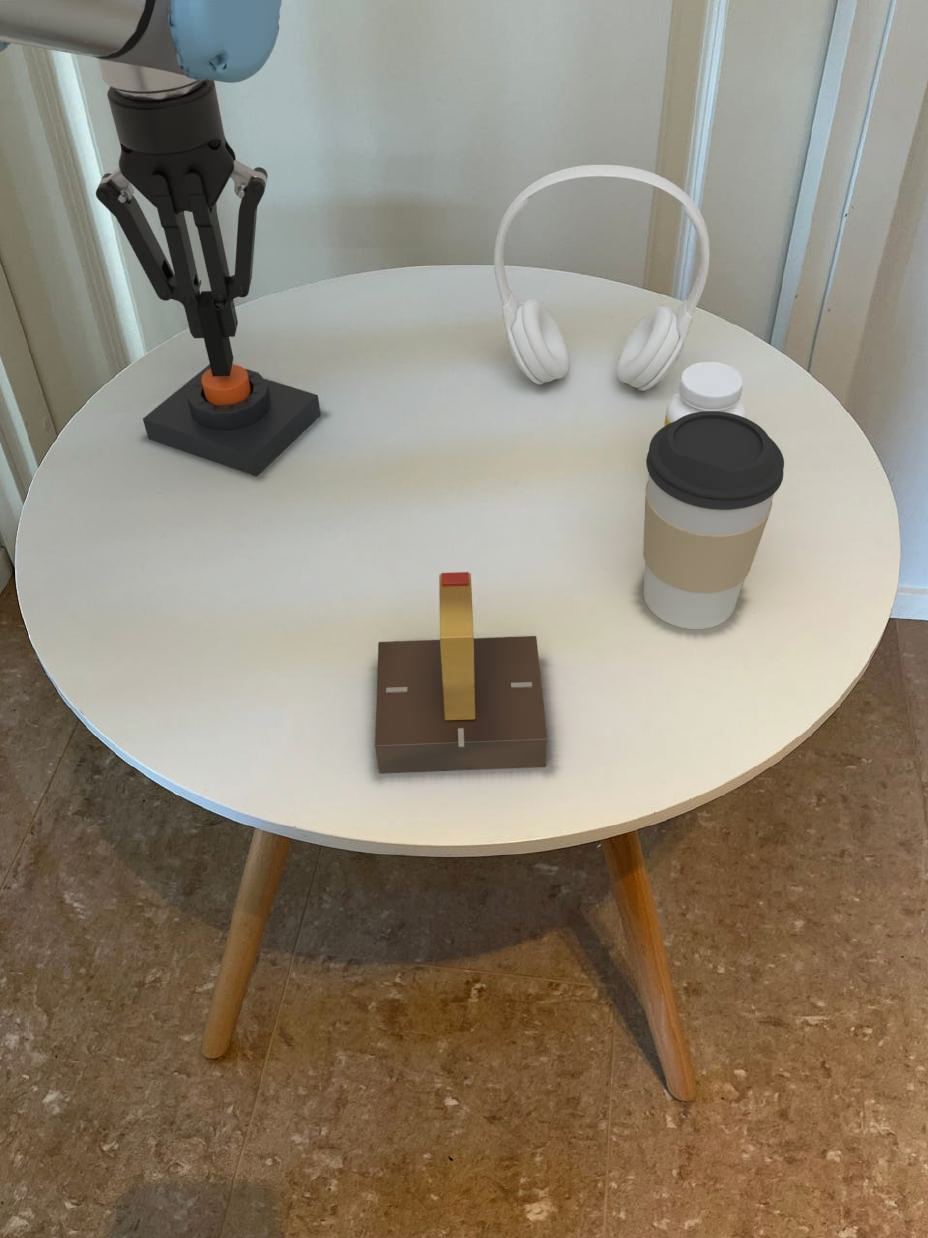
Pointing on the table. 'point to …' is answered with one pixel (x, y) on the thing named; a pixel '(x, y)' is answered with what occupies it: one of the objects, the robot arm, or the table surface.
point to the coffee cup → (705, 514)
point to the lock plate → (490, 741)
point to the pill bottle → (707, 391)
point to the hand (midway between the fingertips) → (223, 367)
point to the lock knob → (457, 645)
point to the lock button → (226, 386)
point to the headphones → (652, 338)
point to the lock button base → (234, 422)
